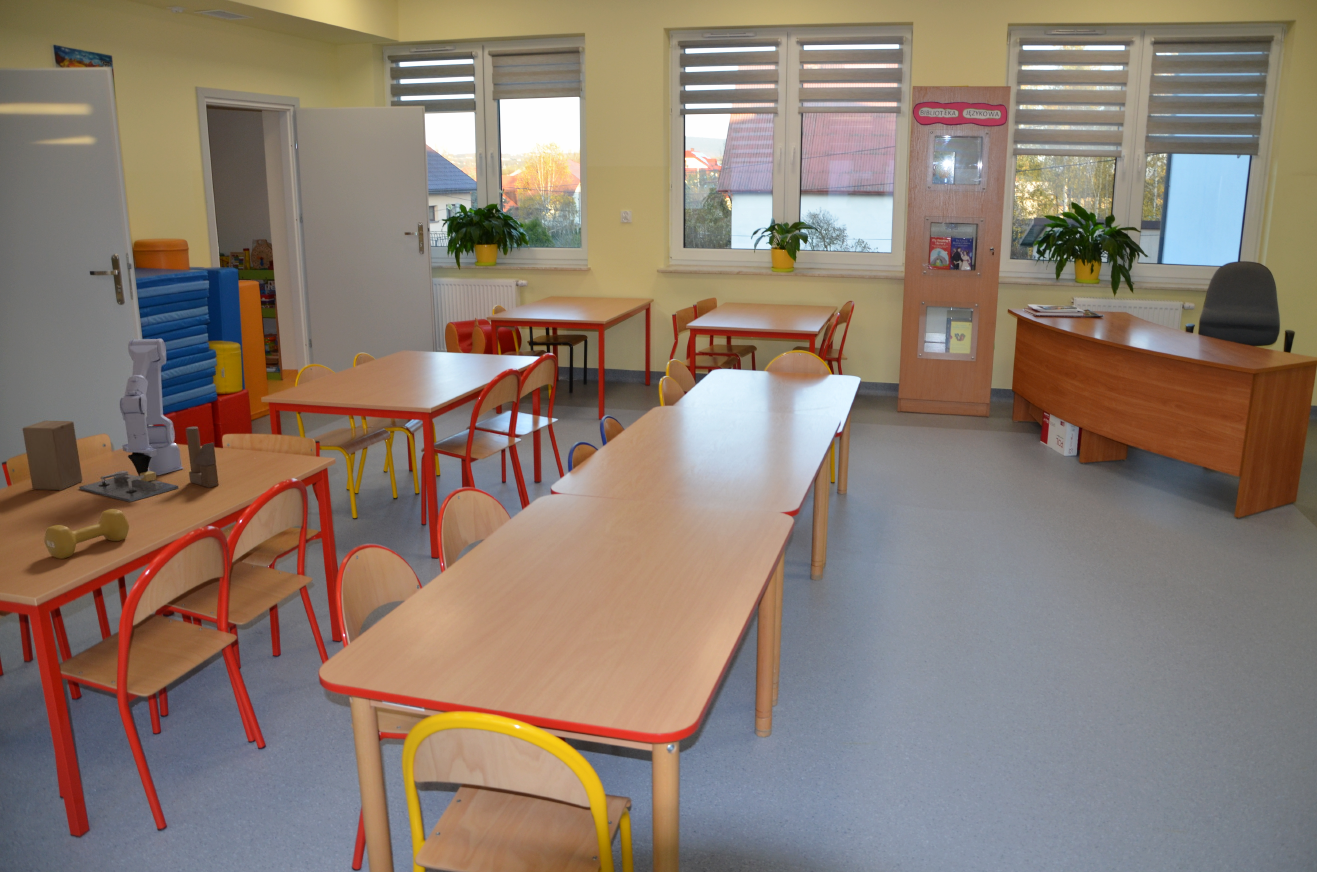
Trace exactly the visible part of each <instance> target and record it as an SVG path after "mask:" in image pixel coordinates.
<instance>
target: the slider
mask: <svg viewBox="0 0 1317 872" xmlns="http://www.w3.org/2000/svg"><path fill="white" fill-rule="evenodd" d="M136 476H137V477H133V478H129V479H127V481H128V484H129V490H130V491H131V490H133V489H132V482H131V481H133V480H136V479H140V478H141V480H142V481H146V482H147V481H151V480H157V475H156V473H155V472H152V471H147V472H143V473H140V476H139V475H136Z"/></svg>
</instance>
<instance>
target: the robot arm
mask: <svg viewBox="0 0 1317 872" xmlns="http://www.w3.org/2000/svg"><path fill="white" fill-rule="evenodd" d="M127 344H128V345H127V349H128V350H127V351H128V354H129V355H128V356H129V357H130V359H131V360H132V361H133V364H132V365H133V366H132V375H131V376H129V378H127V382H126V387H125V391H124V396H123V397H121V398H120V399H119V409H120V413H121V415H122V420H123V421H124V423H125V430H126V431H125V432H126V436H127V437H126V438H127V443H126V444H122V451H123V452H125V453H129V454H128V455H127V458H128V459H129V460H130V461H131V462H132V464H133V466H134V468H135V471H136V473H137V474H138V475H137V476H140V473H143V472H147V471H152V472H155V473H156V476H160V475H165V474H167V473H168V474H169V473H173V472H176V471H180V470H183V469H184V466H182V458H181V451H180V448H179V446H178V444H177V443H175V438H176V437H175V436H176V435H175V434H176V433H175V429H174V423H173V421H172V420H171V419H170V418H168V417H166V416H165V415H164V410H163V409H164V408H163V389H162V388H163V386H162V366H163V365H166V363H167V347H166V343H165V341H164V340H163V339H162V337H161V338H157V339H156V338H152V339H151V338H143V339H134V338H132V339H130V340H129V341H128V343H127Z"/></svg>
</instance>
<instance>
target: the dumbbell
mask: <svg viewBox="0 0 1317 872" xmlns="http://www.w3.org/2000/svg"><path fill="white" fill-rule="evenodd" d="M129 530H130V525H129V521H128V520H127V518H126V515H125V514H124V512H123V511H122V510H119V509H115V508H110V509H107V510H104V511H102V512H101V515H100V517H99V520H98V523H96V524H92V525H91V524H90V525H87V526H85V527H81V528H78V529H76V530H71V529H70V528H69V526H68V527H67V526H65V525H62V524H56V525H52V526H48V527H47V528H46V530H45V533H44V534H45V535H44V545H45V548H46V549H47V552H48V553H49V554H50V555H51V556H52V557H53V558H56V559H59V560H63V559H66V558H70V557H72V556H73V555H74V554H75V550H76V547H77V546H76V545H77V544H81V543H83V542H86V541H89V540H92V539H95V538H98V537H104V539H107V540H109V541H112V542H119V541H123V540H125V539H127V537H128V535H129Z"/></svg>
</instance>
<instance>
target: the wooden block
mask: <svg viewBox="0 0 1317 872" xmlns="http://www.w3.org/2000/svg"><path fill="white" fill-rule="evenodd" d="M74 423H75V422H74V421H72V420H42V421H39V422H36V423H33V424H30V425H28V426H24V427H22V435H23V440H24V445H25V446H24V447H25V451H26V457H27V463H28V469H29V475H30V481H31V482H30V483H31V487H32V490H43V491H45V490H47V491H63V490H65V489H68V488H69V487H72V486H74V485H76V484H79V483H81V482H83V475H82V468H81V462H80V456H79V447H78V443H77V442H78V441H77V436H76V435H77V434H76V429H75V424H74Z"/></svg>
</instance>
